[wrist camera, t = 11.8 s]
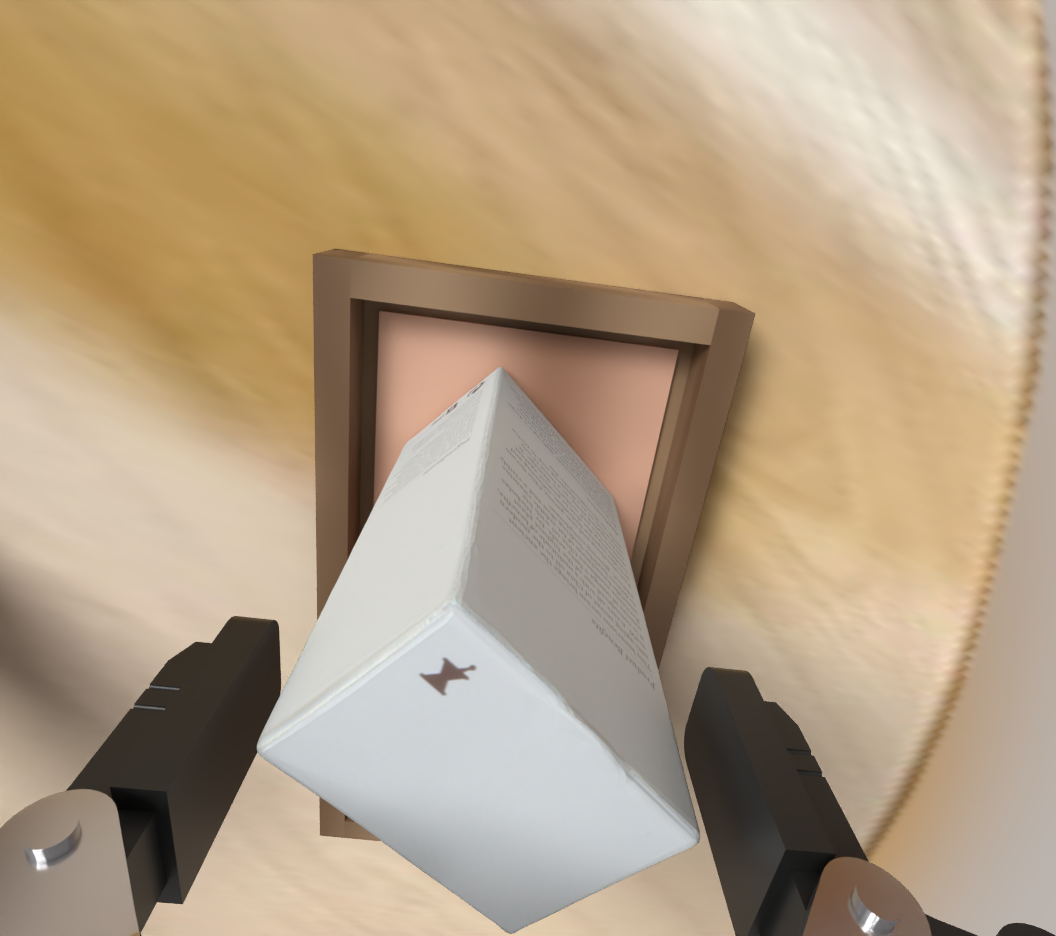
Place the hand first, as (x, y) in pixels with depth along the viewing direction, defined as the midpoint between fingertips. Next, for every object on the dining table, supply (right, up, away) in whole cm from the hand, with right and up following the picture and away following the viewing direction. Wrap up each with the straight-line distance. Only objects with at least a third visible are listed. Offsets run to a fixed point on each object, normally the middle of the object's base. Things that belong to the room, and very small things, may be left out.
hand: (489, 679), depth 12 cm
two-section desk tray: (0, -1, +11) cm, 11 cm away
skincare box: (0, +4, +9) cm, 10 cm away
